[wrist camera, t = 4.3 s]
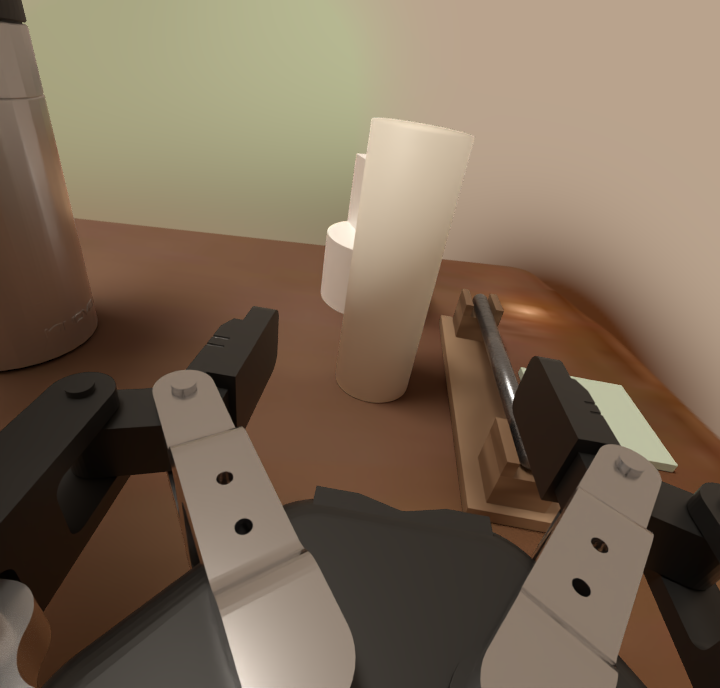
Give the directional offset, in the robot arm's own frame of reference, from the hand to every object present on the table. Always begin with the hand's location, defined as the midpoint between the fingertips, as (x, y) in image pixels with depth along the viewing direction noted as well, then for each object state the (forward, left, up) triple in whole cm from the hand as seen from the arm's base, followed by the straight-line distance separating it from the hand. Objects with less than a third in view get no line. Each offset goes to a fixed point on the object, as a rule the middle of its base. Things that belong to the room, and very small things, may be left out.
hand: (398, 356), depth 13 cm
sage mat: (+15, +12, -10) cm, 22 cm away
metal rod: (+8, +12, -8) cm, 16 cm away
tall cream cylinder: (0, +12, -10) cm, 16 cm away
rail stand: (+8, +12, -10) cm, 18 cm away
